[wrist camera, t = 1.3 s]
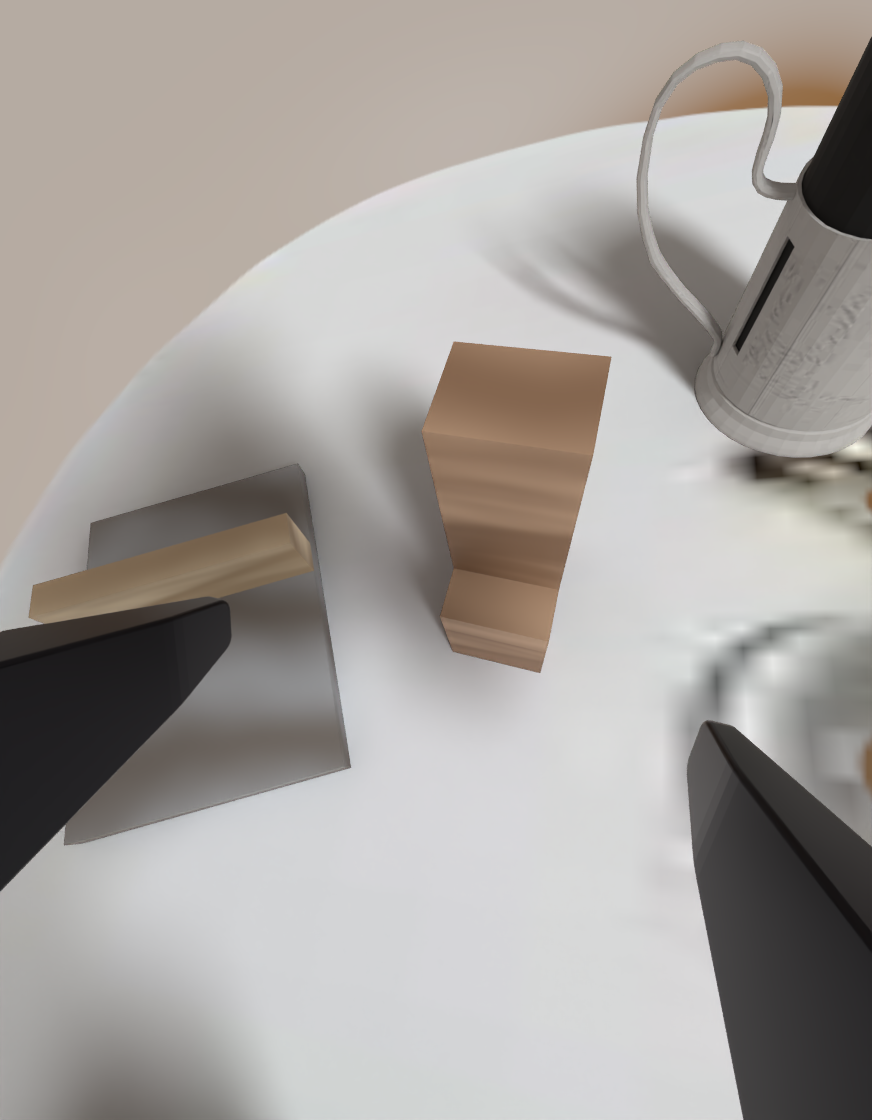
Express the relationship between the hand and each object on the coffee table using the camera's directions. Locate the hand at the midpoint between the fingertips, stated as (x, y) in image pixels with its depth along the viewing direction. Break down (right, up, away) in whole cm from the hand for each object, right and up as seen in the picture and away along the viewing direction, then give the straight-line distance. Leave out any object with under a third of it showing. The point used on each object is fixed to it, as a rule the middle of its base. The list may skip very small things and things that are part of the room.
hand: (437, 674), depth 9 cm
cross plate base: (-11, -1, +16) cm, 19 cm away
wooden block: (+4, +1, +14) cm, 15 cm away
